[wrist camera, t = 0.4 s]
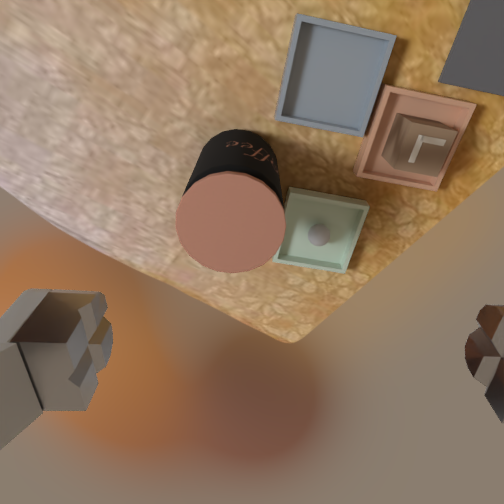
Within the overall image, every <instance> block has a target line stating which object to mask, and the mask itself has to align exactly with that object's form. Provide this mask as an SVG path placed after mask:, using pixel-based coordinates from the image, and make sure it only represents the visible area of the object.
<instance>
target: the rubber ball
mask: <svg viewBox="0 0 504 504" xmlns="http://www.w3.org/2000/svg"><path fill="white" fill-rule="evenodd" d="M308 239H309V241H310V242H311V243H312V244H313V245H315V246H323V245H325V244H327V243H328V241H329V239H330V231H329V229H328V228H327V227H326V226H325V225H323V224H316V225H313V226H312V227H311V228H310V229H309V231H308Z"/></svg>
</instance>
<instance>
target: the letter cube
mask: <svg viewBox="0 0 504 504" xmlns="http://www.w3.org/2000/svg"><path fill="white" fill-rule="evenodd" d="M457 133H458V131H456V130H454V129H452V128H450V127H449V126H447V125H445V124H443V123H441V122H439V121H435V120H430V119H425V118H420V117H416V116H411V115H406V114H401V113H396V116H395V119H394V121H393V124H392V127H391V130H390V132H389V135H388V138H387V141H386V143H385V146H384V149H383V152H382V154H381V156H382V157H383V158H384V159H385V160H386V161H387V162H388V163H389V164H390V165H391V166H392V167H393V168H394V169H397V170H402V171H407V172H413V173H418V174H423V175H428V176H434V177H438V175H439V173H440V170H441V168H442V166H443V164H444V162H445V159H446V157H447V155H448V153H449V151H450V148H451V146H452V144H453V142H454V139H455V137H456V135H457Z"/></svg>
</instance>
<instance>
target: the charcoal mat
mask: <svg viewBox="0 0 504 504" xmlns="http://www.w3.org/2000/svg"><path fill="white" fill-rule="evenodd" d="M438 82H441V83H445V84H450V85H455V86H459V87H464V88H469V89H473V90H478V91H483V92H488V93H492V94H497V95H502V96H504V0H471V1H470V3H469V6H468V8H467V11H466V13H465V16H464V18H463V21H462V23H461V26H460V28H459V31H458V33H457V36H456V38H455V41H454V43H453V46H452V48H451V51H450V53H449V55H448V58H447V60H446V63H445V65H444V68H443V70H442V73H441V75H440V78H439V80H438Z"/></svg>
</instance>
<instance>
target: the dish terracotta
mask: <svg viewBox="0 0 504 504" xmlns="http://www.w3.org/2000/svg"><path fill="white" fill-rule="evenodd" d="M476 105H477V104H474V103H472V102H469V101H464V100H460V99H455V98H450V97H445V96H441V95H436V94H431V93H426V92H422V91H417V90H412V89H407V88H403V87H398V86H393V85H388V84H384V83H382V84H381V87H380V90H379V93H378V96H377V99H376V102H375V105H374V108H373V111H372V114H371V117H370V120H369V123H368V126H367V129H366V132H365V135H364V138H363V141H362V144H361V147H360V150H359V153H358V156H357V160H356V163H355V166H354V169H353V172H354V174H355V175H356V176H357V177H362V178H367V179H373V180H378V181H383V182H389V183H394V184H400V185H405V186H410V187H416V188H421V189H426V190H432V191H437V190H438V188H439V185H440V183H441V181H442V179H443V177H444V175H445V172H446V170H447V168H448V166H449V164H450V162H451V159H452V157H453V155H454V153H455V151H456V149H457V146H458V144H459V142H460V140H461V138H462V136H463V133H464V131H465V129H466V127H467V125H468V123H469V120H470V118H471V116H472V114H473V112H474V110H475V107H476ZM396 113H401V114H406V115H411V116H416V117H420V118H425V119H430V120H435V121H439V122H441V123H443V124H445V125H447V126H449V127H450V128H452V129H454V130H456V131H458V133H457V135H456V137H455V139H454V142H453V144H452V146H451V148H450V151H449V153H448V155H447V157H446V159H445V162H444V164H443V166H442V168H441V170H440V173H439V175H438V177H434V176H428V175H423V174H418V173H413V172H407V171H402V170H397V169H394V168H393V167H392V166H391V165H390V164H389V163H388V162H387V161H386V160H385V159H384V158H383V157H382V156H381V154H382V152H383V149H384V146H385V143H386V141H387V138H388V135H389V132H390V130H391V127H392V124H393V121H394V119H395V116H396Z"/></svg>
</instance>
